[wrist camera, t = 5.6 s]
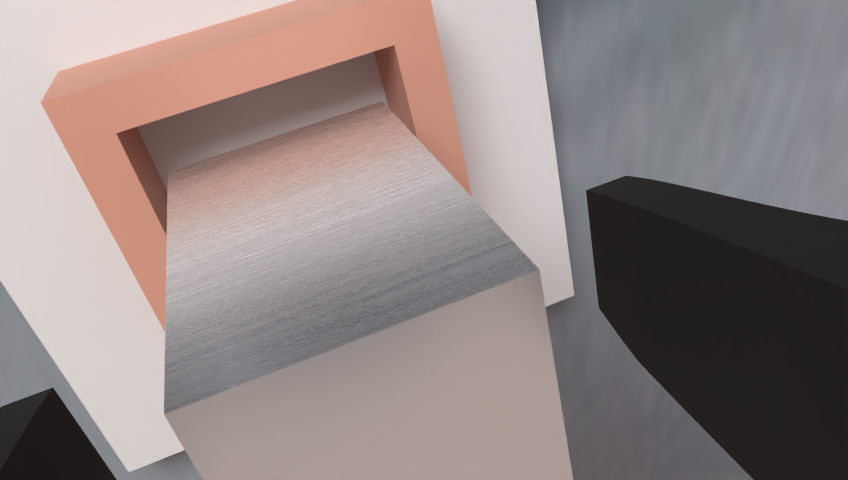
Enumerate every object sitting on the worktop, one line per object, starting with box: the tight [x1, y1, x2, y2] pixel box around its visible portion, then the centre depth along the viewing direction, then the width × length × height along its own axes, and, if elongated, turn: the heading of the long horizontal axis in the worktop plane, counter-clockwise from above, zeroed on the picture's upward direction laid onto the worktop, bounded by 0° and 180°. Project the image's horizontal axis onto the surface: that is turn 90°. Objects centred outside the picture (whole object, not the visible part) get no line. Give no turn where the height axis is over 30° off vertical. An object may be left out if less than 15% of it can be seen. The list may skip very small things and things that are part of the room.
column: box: [164, 101, 573, 480], centre depth 10 cm, size 4×4×6 cm
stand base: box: [0, 0, 574, 472], centre depth 14 cm, size 12×12×4 cm
